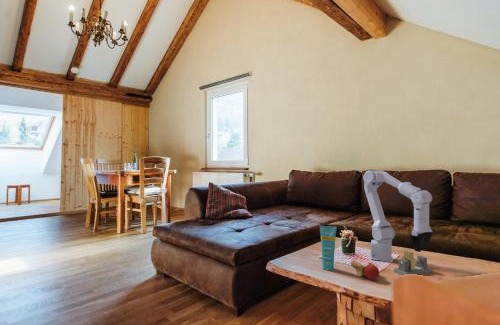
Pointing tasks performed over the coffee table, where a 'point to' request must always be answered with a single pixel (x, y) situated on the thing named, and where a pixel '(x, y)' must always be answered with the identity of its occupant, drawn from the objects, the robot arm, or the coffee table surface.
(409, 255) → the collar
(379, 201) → the robot arm
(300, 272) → the coffee table surface
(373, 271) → the kendama
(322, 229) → the tube
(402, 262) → the pipe rig
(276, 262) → the coffee table surface
